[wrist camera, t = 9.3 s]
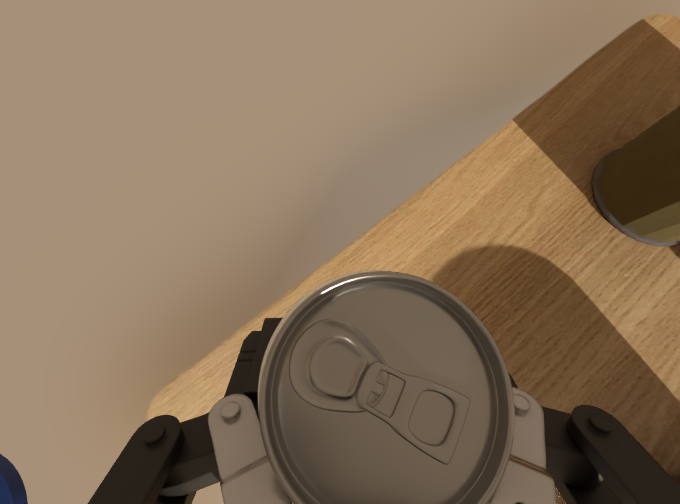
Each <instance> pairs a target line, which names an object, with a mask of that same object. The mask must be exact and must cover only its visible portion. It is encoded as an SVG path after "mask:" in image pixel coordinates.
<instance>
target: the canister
mask: <svg viewBox="0 0 680 504" xmlns="http://www.w3.org/2000/svg"><path fill="white" fill-rule="evenodd" d="M592 187H593V192H594V197H595V201H596V203H597V204H598V206H599V208H600V209H601V211H602V213H603V215H604V216H605V217H606V218H607V220H608V221H609V222H610V223H611V224H612V225H613V226H615V227H616V228H617V229H618V230H620V231H621V232H622V233H624V234H626V235H628V236H630V237H632V238H633V239H636V240H638V241H640V242H644V243H647V244H652V245H657V246H670V245H676V244H680V106H679V107H678V108H676V109H675V110H673V111H672V112H671V113H669V114H668V115H666V116H665V117H664V118H662V119H661V120H659V121H658V122H657V123H655V124H654V125H652V126H651V127H650V128H648V129H647V130H645V131H644V132H643V133H641V134H640V135H638V136H637V137H636V138H634V139H633V140H631V141H630V142H629V143H627V144H626V145H624V146H623V147H622V148H619V149H616V150H613V151H612V152H610V153H608V154H607V155H606V156H605V157H603V158H602V159H601V161H600V162H599V164H598V166H597V168H596V170H595V171H594V174H593V181H592Z"/></svg>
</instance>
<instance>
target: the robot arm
mask: <svg viewBox="0 0 680 504" xmlns="http://www.w3.org/2000/svg"><path fill="white" fill-rule="evenodd" d="M282 319H283V318H265V320H264V323H263V327H262V330H261V331H252V332H251V333H250V334H249V335H248V336H247V337H246V339H245V340H244V341H243V344H242V347H241V350H240V353H239V356H238V359H237V362H236V364H235V367H234V370H233V373H232V376H231V379H230V382H229V385H228V388H227V390H226V393H225V396H224V398H222V399H221V400H219V401H218V402H217V403H216V404H215V405H214V406H213V407H212V409H211V411H210V412H209V413H207V414H205V415H202V416H200V417H197V418H194V419H190V420H187V421H184V422H181V423H180V422H179V420H178V419H177V418H176V417H174V416H171V415H161V416H157V417H155V418H152V419H150V420H149V421H147V422H145V423H144V424H143V425H142V426H141V427H139V428H138V430H137V431H136V432H135V433H134V434H133V436H132V437H131V439H130V440H129V442H128V443H127V445H126V446H125V448H124V450H123V451H122V452H121V454H120V456H119V457H118V459H117V460H116V462H115V463H114V465H113V466H112V468H111V469H110V471H109V472H108V474H107V475H106V477H105V478H104V480H103V482H102V483H101V484H100V486H99V487H98V489H97V490H96V492H95V494H94V495H93V497H92V498H91V500H90V501H89V503H88V504H192V501H193V499H194V496H195V494H196V491H197V490H200V489H202V488H205V487H207V486H210V485H212V484H215V483H218V482H220V481H221V482H220V485H221V491H222V496H223V501H224V504H292V502H291V500H290V498H289V497H288V496H287V494H286V493H285V491H284V490H283V488H282V487H281V485H280V483H279V481H278V480H277V478H276V476H275V474H274V472H273V470H272V467H271V465H270V462H269V460H268V457H267V454H266V451H265V448H264V444H263V439H262V435H261V429H260V421H259V411H258V383H259V376H260V370H261V365H262V361H263V358H264V354H265V351H266V349H267V346H268V344H269V341H270V339H271V337H272V335H273V333H274V331H275V330H276V328H277V326H278V325H279V323H280V322H281V320H282ZM508 373H509V372H508ZM509 377H510V381H511V385H512V390H513V396H514V405H515V429H514V439H513V445H512V450H511V454H510V458H509V461H508V464H507V467H506V470H505V473H504V475H503V477H502V480H501V482H500V484H499V486H498V488H497V489H496V491H495V493H494V494H493V496H492V498H491V499H490V500H489V502H488V503H487V504H556V497H555V486H556V488H557V489H558V491H559V492H560V494H561V496H562V497H563V499H564V500H565V502H566V503H567V504H680V486H679V485H678V484H677V483H676V482H675V480H674V479H673V478H672V477H671V476H670V475H669V474H668V473H667V472H666V471H665V470H664V469H663V468H662V467H661V466H660V465H659V463H658V462H657V461H656V460H655V459H654V458H653V457H652V456H651V455H650V454H649V453H648V452H647V451H646V450H645V449H644V448H643V446H642V445H641V444H640V443H639V442H638V441H637V440H636V439H635V438H634V437H633V436H632V435H631V434H630V433H629V432H628V431H627V429H626V428H625V427H624V426H623V425H622V424H621V423H620V422H619V421H618V420H617V419H616V418H614V417H613V416H612V415H610V414H609V413H607V412H605V411H604V410H601V409H599V408H597V407H594V406H589V405H580V406H577V407H575V408H574V410H573V411H572V413H571V414H570V413H566V412H562V411H558V410H554V409H550V408H546V407H543V406H541V405H540V403H539V402H538V401H537V400H536V399H535V398H534V397H533V396H532V395H530V394H529V393H527V392H525V391H524V390H521V389H519V388H518V387H517V385H516V383H515V382H514V380H513V378H512V377H511V375H510V374H509Z"/></svg>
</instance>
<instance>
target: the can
mask: <svg viewBox="0 0 680 504" xmlns="http://www.w3.org/2000/svg"><path fill="white" fill-rule="evenodd" d="M258 411H259V421H260V429H261V435H262V439H263V444H264V448H265V451H266V454H267V457H268V460H269V462H270V465H271V467H272V470H273V472H274V474H275V476H276V478H277V480H278V481H279V483H280V485H281V487H282V488H283V490H284V491H285V493H286V494H287V496H288V497H289V498H290V500H291V501H292V502H293V503H294V504H487V503H488V502H489V500H490V499H491V498H492V496H493V494H494V493H495V491H496V489H497V488H498V486H499V484H500V482H501V480H502V477H503V475H504V473H505V470H506V467H507V464H508V461H509V458H510V454H511V450H512V445H513V439H514V429H515V405H514V396H513V390H512V385H511V381H510V377H509V373H508V370H507V367H506V364H505V362H504V359H503V357H502V354H501V352H500V350H499V348H498V346H497V344H496V342H495V341H494V339H493V337H492V336H491V334H490V332H489V331H488V329H487V328H486V327H485V325H484V324H483V323H482V321H481V320H480V319H479V318H478V317H477V316H476V314H475V313H474V312H473V311H472V310H471V309H470V308H469V307H468V306H467V305H465V304H464V303H463V302H462V301H461V300H460V299H458V298H457V297H456V296H454V295H453V294H451V293H450V292H449V291H447V290H445V289H444V288H442V287H440V286H438V285H436V284H434V283H432V282H430V281H428V280H425V279H422V278H420V277H416V276H413V275H409V274H404V273H399V272H390V271H360V272H354V273H349V274H345V275H342V276H339V277H336V278H333V279H331V280H329V281H326V282H324V283H322V284H321V285H319V286H317V287H316V288H314V289H312V290H311V291H310V292H308V293H307V294H306V295H304V296H303V297H302V298H301V299H300V300H299V301H297V302H296V303H295V304H294V305H293V307H292V308H291V309H290V310H289V311H288V312H287V313H286V315H285V316H284V317H283V319H282V320H281V322H280V323H279V325H278V326H277V328H276V330H275V331H274V333H273V335H272V337H271V339H270V341H269V344H268V346H267V349H266V351H265V354H264V358H263V361H262V365H261V370H260V376H259V383H258Z"/></svg>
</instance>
